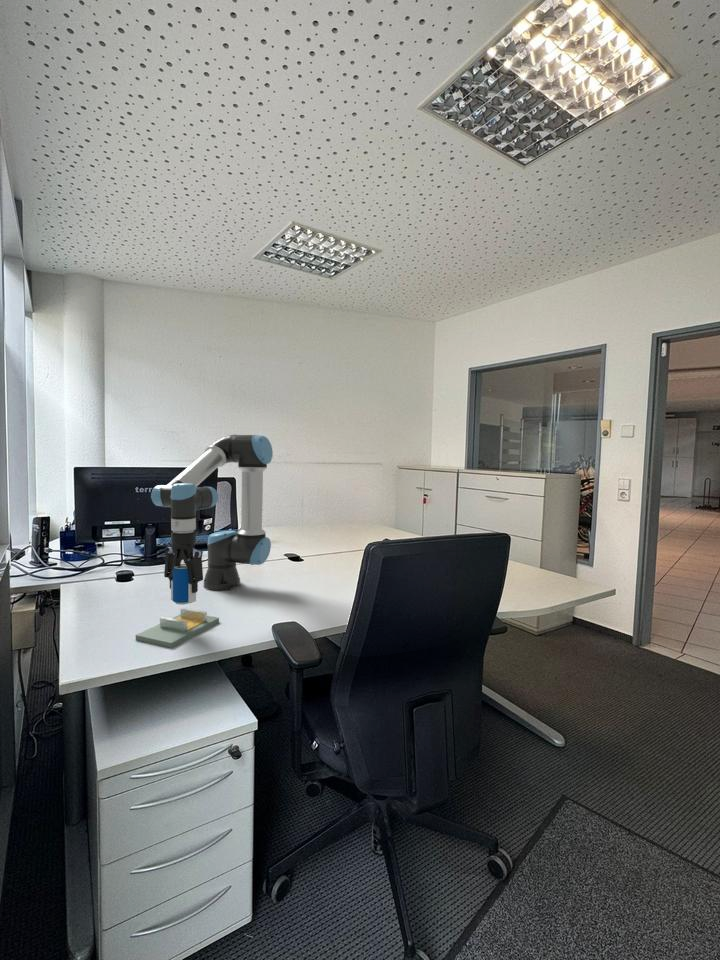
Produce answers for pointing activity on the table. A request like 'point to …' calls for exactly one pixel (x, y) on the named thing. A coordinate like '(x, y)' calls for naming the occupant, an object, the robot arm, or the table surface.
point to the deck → (173, 633)
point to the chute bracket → (184, 620)
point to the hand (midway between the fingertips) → (183, 600)
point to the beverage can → (180, 584)
